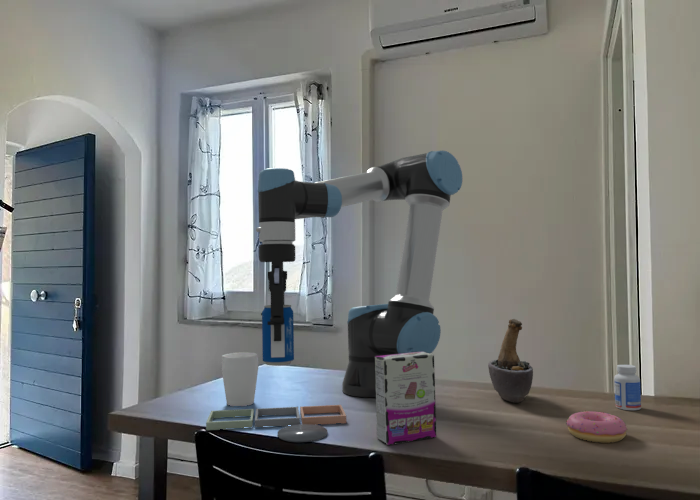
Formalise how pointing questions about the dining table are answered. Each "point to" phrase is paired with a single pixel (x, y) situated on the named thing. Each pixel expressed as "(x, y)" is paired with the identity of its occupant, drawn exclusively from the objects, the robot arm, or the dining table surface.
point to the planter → (511, 368)
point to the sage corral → (229, 424)
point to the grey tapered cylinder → (240, 377)
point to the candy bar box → (405, 397)
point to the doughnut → (596, 426)
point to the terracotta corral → (322, 419)
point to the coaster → (302, 433)
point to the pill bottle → (627, 388)
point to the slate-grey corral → (279, 420)
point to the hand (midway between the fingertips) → (278, 353)
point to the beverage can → (288, 337)
